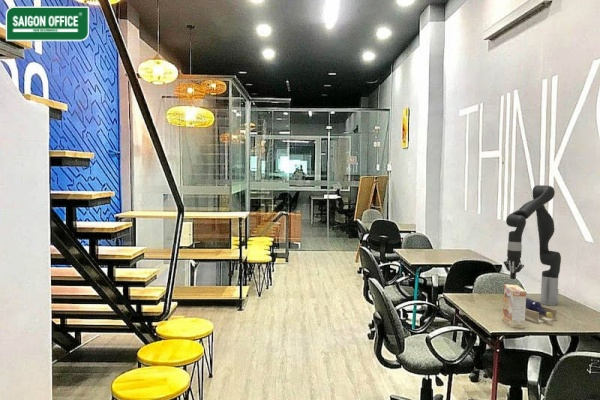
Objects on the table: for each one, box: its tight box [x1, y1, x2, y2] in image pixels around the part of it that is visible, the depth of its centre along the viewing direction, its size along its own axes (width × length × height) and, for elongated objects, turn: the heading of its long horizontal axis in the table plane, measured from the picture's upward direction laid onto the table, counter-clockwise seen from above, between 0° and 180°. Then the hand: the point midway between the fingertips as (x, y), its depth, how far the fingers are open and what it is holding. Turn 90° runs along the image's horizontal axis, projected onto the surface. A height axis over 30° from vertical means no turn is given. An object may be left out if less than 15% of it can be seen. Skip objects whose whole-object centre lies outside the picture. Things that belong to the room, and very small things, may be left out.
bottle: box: [526, 296, 553, 318], centre depth 281 cm, size 9×9×30 cm
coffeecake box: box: [502, 283, 527, 329], centre depth 266 cm, size 15×7×20 cm, turn 174°
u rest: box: [525, 305, 558, 325], centre depth 278 cm, size 16×14×6 cm
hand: (512, 279), depth 291 cm, fingers closed
